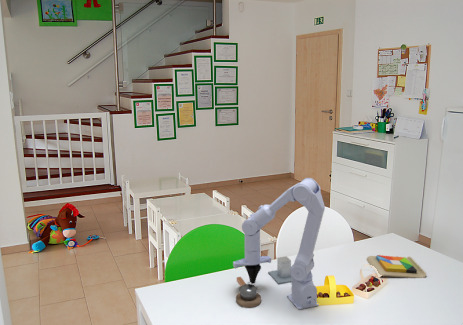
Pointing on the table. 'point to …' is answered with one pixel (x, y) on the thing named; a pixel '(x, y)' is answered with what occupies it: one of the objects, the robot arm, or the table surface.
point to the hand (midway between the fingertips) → (252, 282)
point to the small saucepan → (247, 290)
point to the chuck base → (248, 303)
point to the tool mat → (279, 278)
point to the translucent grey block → (283, 267)
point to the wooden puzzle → (396, 266)
